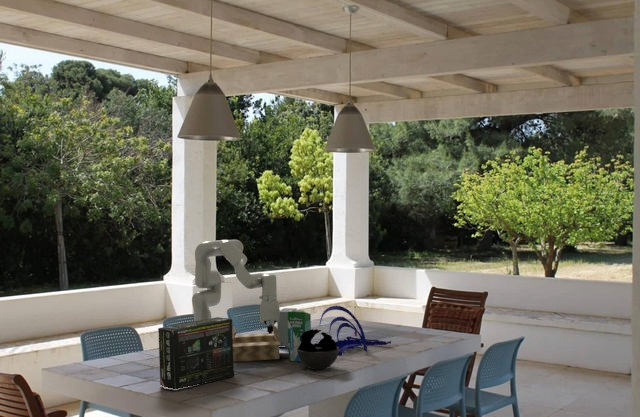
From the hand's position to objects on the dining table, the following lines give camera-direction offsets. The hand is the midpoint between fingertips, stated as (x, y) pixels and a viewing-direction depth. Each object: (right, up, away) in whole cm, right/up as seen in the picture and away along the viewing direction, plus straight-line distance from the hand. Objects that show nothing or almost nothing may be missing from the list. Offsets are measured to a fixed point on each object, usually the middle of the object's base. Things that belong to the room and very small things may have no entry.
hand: (270, 333), depth 389 cm
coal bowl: (+25, -12, -33) cm, 43 cm away
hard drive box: (+8, -12, +27) cm, 30 cm away
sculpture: (+40, -11, +16) cm, 45 cm away
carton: (-8, -12, -1) cm, 15 cm away
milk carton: (+16, -12, -10) cm, 22 cm away
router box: (-29, -13, -54) cm, 63 cm away
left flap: (-20, -3, -4) cm, 20 cm away
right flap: (+3, -2, +1) cm, 4 cm away
